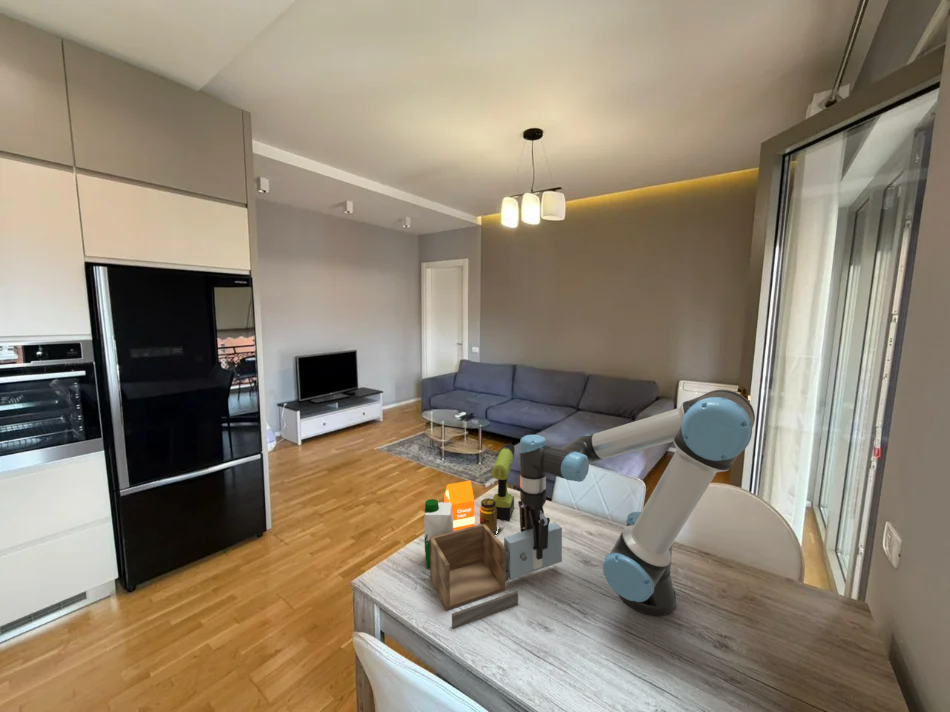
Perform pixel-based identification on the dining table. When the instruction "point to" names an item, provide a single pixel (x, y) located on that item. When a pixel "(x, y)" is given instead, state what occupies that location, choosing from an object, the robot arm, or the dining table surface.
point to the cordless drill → (504, 482)
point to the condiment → (489, 515)
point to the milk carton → (436, 522)
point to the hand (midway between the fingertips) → (533, 563)
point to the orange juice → (461, 504)
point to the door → (523, 551)
